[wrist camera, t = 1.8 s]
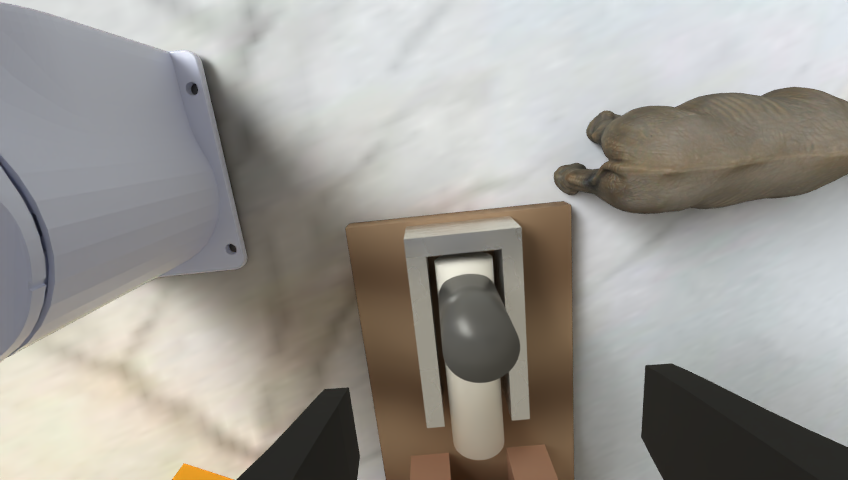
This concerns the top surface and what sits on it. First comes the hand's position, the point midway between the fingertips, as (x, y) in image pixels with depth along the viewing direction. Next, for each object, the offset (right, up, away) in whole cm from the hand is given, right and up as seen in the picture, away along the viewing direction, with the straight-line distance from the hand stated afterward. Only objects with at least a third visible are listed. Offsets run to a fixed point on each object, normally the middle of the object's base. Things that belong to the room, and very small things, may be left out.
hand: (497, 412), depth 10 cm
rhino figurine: (+11, +9, +8) cm, 16 cm away
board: (+1, -4, +11) cm, 12 cm away
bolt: (0, -1, +9) cm, 9 cm away
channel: (0, +1, +9) cm, 9 cm away
